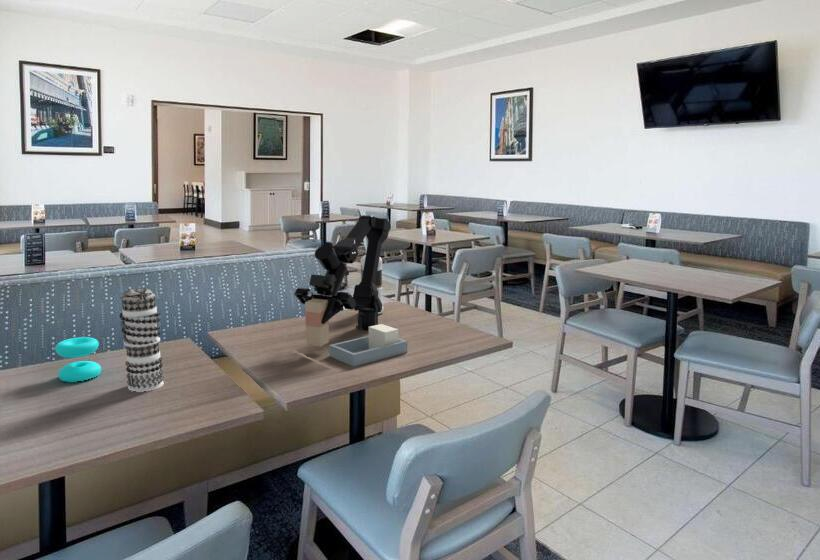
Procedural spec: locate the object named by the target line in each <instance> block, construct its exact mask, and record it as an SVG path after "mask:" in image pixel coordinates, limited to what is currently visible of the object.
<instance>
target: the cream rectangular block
mask: <svg viewBox="0 0 820 560" xmlns="http://www.w3.org/2000/svg"><path fill="white" fill-rule="evenodd" d="M368 336H369V349H373V348H377V347H381V346H385V345H389V344H393V343H397V342H398V338H399V329H398V328H395V327H392V326H389V325H385V324H383V323H380V324H379V323H378V325H375V326H370V327H369V330H368Z"/></svg>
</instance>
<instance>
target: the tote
mask: <svg viewBox="0 0 820 560" xmlns="http://www.w3.org/2000/svg"><path fill="white" fill-rule="evenodd" d="M328 350H329V357H331V358H333V359H335V360H337V361H340V362H342V363H344V364H347V365H348V366H351V367H358V366H361V365H365V364H369V363H372V362H375V361H376V362H377V361H379V360H383V359H387V358H388V359H389V358H391V357H394V356H398V355H402V354H405V353H408V340H406V339H405V340H404V339H403V338H399V337H398V342H397V343H393V344H389V345H385V346H381V347H377V348H373V349H369V335H367V336H363V337H362V336H361V337H358V338H354V339H350V340H345V341H340V342H336V343H332V344H329V349H328Z"/></svg>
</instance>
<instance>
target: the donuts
mask: <svg viewBox="0 0 820 560" xmlns="http://www.w3.org/2000/svg"><path fill="white" fill-rule="evenodd" d="M99 345H100V342H99V341H98V340H97V339H96V338H94V337H90V336H79V337H72V338H67V339H65V340H61V341H59V342H58V343H57V344H56V345H55V347H54V350H55V352H56V354H57V355H58V356H60V357H63V358H81V357H86V356H89V355H92V354H93V353H94V352H96V351H97V349H98V348H99ZM101 373H102V366H101V365H100V364H99V363H98V362H95V361H91V360H81V361H80V360H79V361H73V362H70V363H68V364H66V365H64V366H62V367H61V368H60V369H59V371H58V374H57V375H58V379H59V380H60V381H62V382H65V381H66V383H78V382H77V381H82V382H85V381H84V380H87V381H89V380H88V379H90V380H92V379H91V378H93V379H95V378H96V376H97V377H98V376H99V375H100V374H101ZM94 377H95V378H94Z"/></svg>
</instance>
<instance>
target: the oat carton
mask: <svg viewBox="0 0 820 560" xmlns="http://www.w3.org/2000/svg"><path fill="white" fill-rule="evenodd" d="M304 305H305V312H304V314H305V329H306V331H305V334H306V345H308V346H314V347H323V346H325V345H326V344H328V343H330V332H329V331H330V328H329V327H330V319H329V320H328V321H327V322H326V323H325V324H322V323H321V322H322V318H323V316H324V313H325V311H326V309H327V307H328V300H323V299H312V300H309V301H307V302H305V304H304Z"/></svg>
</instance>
